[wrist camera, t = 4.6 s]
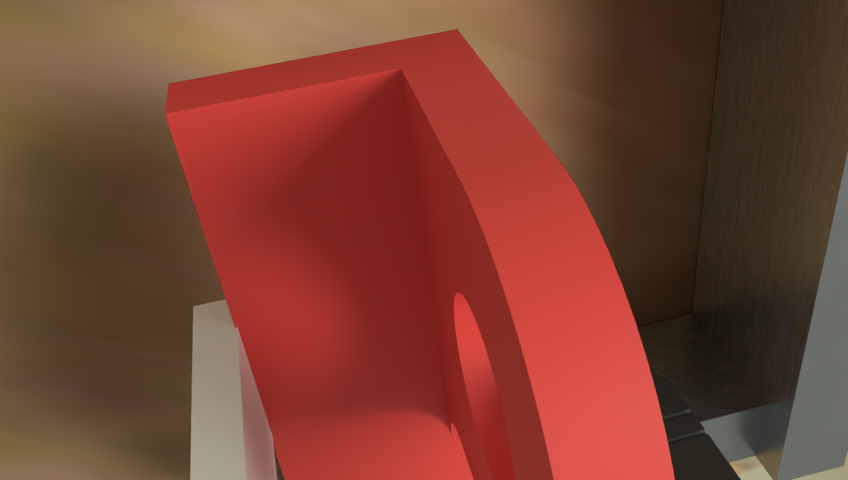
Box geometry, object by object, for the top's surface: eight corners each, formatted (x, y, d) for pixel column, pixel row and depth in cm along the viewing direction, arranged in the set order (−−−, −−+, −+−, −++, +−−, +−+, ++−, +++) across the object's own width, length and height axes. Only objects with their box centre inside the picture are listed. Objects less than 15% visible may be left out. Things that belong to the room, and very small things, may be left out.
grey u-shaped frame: (286, 458, 24) (300, 609, 20) (81, -196, 14) (24, -163, 10) (870, 316, 26) (989, 426, 22) (1046, -336, 16) (1322, -355, 12)
